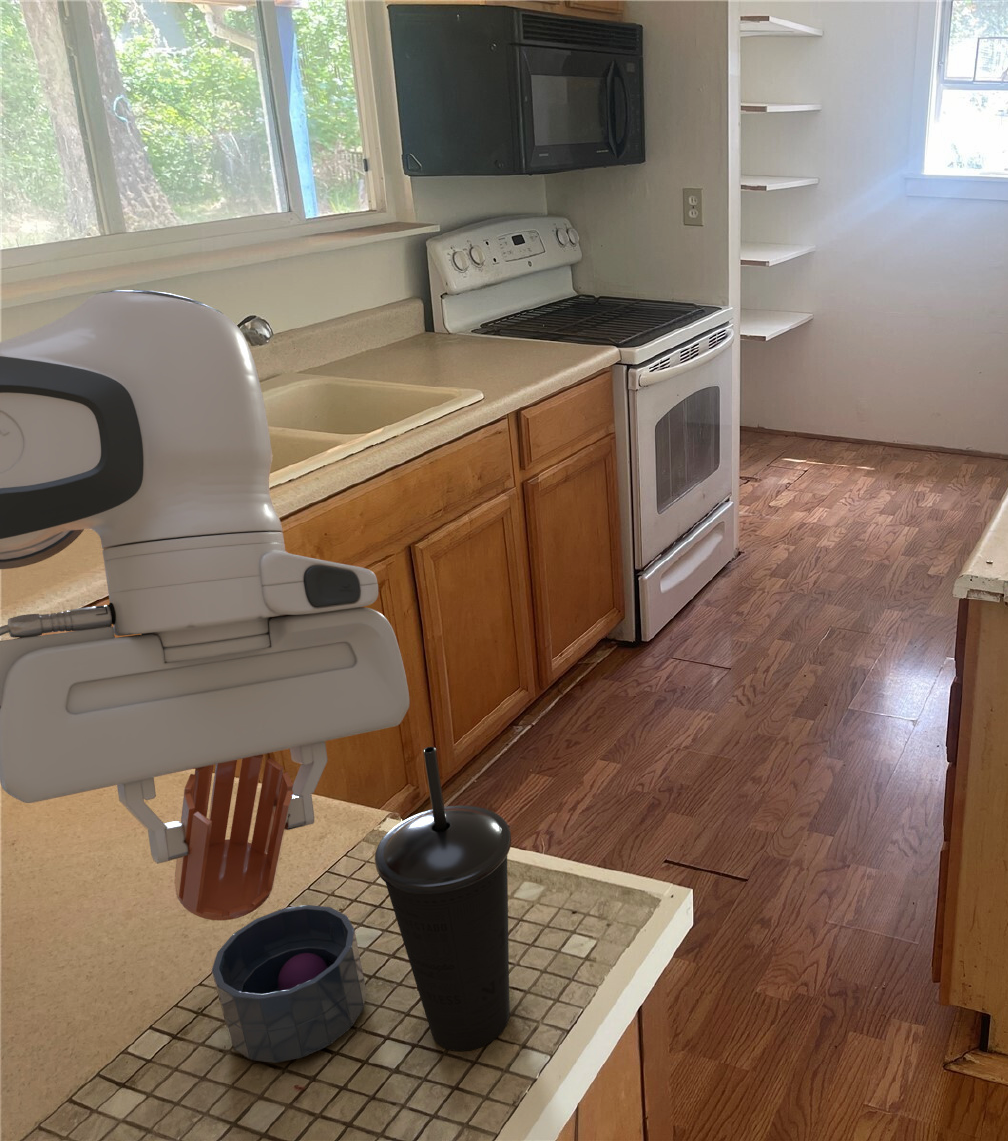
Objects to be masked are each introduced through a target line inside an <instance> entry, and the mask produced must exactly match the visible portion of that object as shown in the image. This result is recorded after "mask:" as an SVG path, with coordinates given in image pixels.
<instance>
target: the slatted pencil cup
mask: <svg viewBox="0 0 1008 1141" xmlns="http://www.w3.org/2000/svg"><path fill="white" fill-rule="evenodd" d="M263 760H264V754H262V755H257V756H252V757H248V758H243V759H241V763H240V771H239V777H238V783H237V784H238V785H237V790H236V796H235V802H234V809H233V815H232V821H231V828H230V835H229V839H226V836H227V830H228V822H229V817H230V811H231V804H232V796H233V790H234V783H235V777H236V770H237V764H238V763H237V762H238V760H233V761H229V762H224V763H219V764H215V768H214V765H210V766H205V767H200V768H195V769H194V773H191V774H190V775H189V777H188V779H187V781H186V784H185V786H184V792H183V800H182V808H181V817H180V823H182V824H183V825H184V830H185V837H186V838H185V840H184V842H185V843H186V844H187V845H188V856H185V857H181V858H178V859H176V862H175V871H174V889H175V890H174V891H175V894H176V898H177V899H178V901H179V903H180V904H181V905H182V907H183V908H184V909H185V910H187V911H188V912H189V913H191V914H193V915H194V916H197V917H198V918H202V919H205V920H210V921H229V920H230V921H231V920H235V919H239V918H242V917H245V916H247V915H249V914H251V913H252V912H254V911H256V910H257V909H259V908H260V907H261V906H262V905H264V903H265V902H266V901H267V900H268V898H269V897H270V896H271V893H272V891H273V889H274V886H275V882H276V879H277V874H278V871H279V865H280V860H281V855H282V848H283V844H284V840H285V836H286V831H287V830H286V826H287V821H288V816H289V811H290V806H291V801H292V796H293V791H292V789H293V784H294V783H293V782H292V779H291V777H290V774H289V772H288V771H286V772H284V767H285V766H283V765H282V764H280V763H278V762H277V761H276V760H275V759H273V758H272V757H269V758H267V759H266V760H265V764H264V769H263V770H264V771H263V774H262V782H261V785H260V786H261V787H260V793H259V798H258V805H257V810H256V816H255V820H254V827H253V833H252V838H251V842H249V841H250V834H251V829H252V823H253V818H254V811H255V805H256V800H257V793H258V787H259V781H260V776H261V770H262V766H263V765H262V764H263ZM213 772H214V775H213ZM212 780H213V783H212ZM211 788H212V790H211ZM211 791H212V792H211ZM210 796H211V798H210ZM209 801H210V806H209ZM208 809H209V810H208ZM208 812H209V813H208Z"/></svg>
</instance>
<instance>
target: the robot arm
mask: <svg viewBox="0 0 1008 1141" xmlns="http://www.w3.org/2000/svg"><path fill="white" fill-rule="evenodd" d="M261 386H262V385H261V382H260V378H259V375H258V370H257V366H256V363H255V360H254V357H253V354H252V351H251V347H250V346H249V344H248V341H247V339H246V337H245V335H244V333H243V332H242V330H241V329H240V327H239V326H238V325H237V324H236V323H235V322H234V321H233V320H232V319H231V318H230V317H228V316H227V315H225V314H224V313H223V312H221V310H219V309H216V308H213V307H211V306H209V305H208V304H207V305H206V304H205V303H203V302H201V301H199V300H195V299H192V298H190V297H189V298H188V297H186V296H182V295H177V294H173V293H168V292H161V291H156V290H155V291H154V290H145V289H144V290H143V289H132V290H118V289H117V290H115V289H114V290H109V291H102V292H98V293H94V294H93V295H90V296H89V297H87V298H86V299H85V300H83V302H82V303H80V304H79V305H78V306H77V307H76V308H74V309H73V310H72V311H69V312H68V313H67V314H65V315H63V316H61V317H59V318H58V319H55V320H53V321H51V322H49V323H47V324H44V325H43V326H40V327H38V328H35V329H33V330H31V331H28V332H25V333H23V334H20V335H18V336H14V337H11V338H8V339H4V340H2V341H0V570H9V569H11V570H12V569H18V568H22V567H23V568H24V567H27V566H31V565H34V564H37V563H40V562H42V561H45V560H48V559H50V558H52V557H54V556H55V555H57V554H59V553H60V552H62V551H63V550H65V549H66V548H68V547H69V546H70V545H71V544H72V543H74V542H75V541H76V540H77V539H78V538H79V537H80V536H81V535H82V533H83V532H84V531H85V530H91V531H93V532H95V533H96V534H97V535H98V536H99V539H100V544H101V549H102V558H103V566H104V572H105V580H106V586H107V594H108V601H109V603H108V604H104V605H95V606H86V607H79V608H73V609H69V610H64V611H57V612H52V613H43V614H39V613H28V614H21V615H16V616H13V617H10V618H8V619H7V624H4V625H1V626H0V637H2V636H4V635H6V634H9V637H10V638H11V639H4V640H2V639H1V640H0V786H1V788H2V790H3V791H4V792H5V793H7V795H9V796H10V797H12V798H15V799H16V800H18V801H20V802H22V803H24V804H32V803H39V802H43V801H49V800H52V799H53V800H54V799H57V798H62V797H67V796H72V795H77V794H81V793H87V792H90V791H96V790H100V789H104V788H110V787H114V786H116V788H117V794H118V801H119V803H121V805H122V806H124V807H125V809H126V810H127V811H128V812H129V813H130V814H131V815H132V816H133V817H134V818H135V819H136V820H137V821H138V822H139V824H141V826H142V827H143V828H144V829H146V830H147V834H148V842H149V848H150V849H149V850H150V854H151V858H152V860H153V862H154V863H156V864H157V865H159V864H163V863H167V862H170V861H174V860H177V859H178V858H181V857H185V856H188V845H187V844H186V843H185V842H184V840H185V838H186V837H185V830H184V825H183V824H182V823H181V821H179V820H173V821H168V822H164V821H162V819H161V818H160V817H159V816H158V815H157V814H156V813H155V811H153V810H152V809H151V808H150V806H148V804H147V803H146V802H145V801H151V800H154V799H155V798H156V797H157V794H156V786H155V778H156V777H162V776H167V775H171V774H177V773H181V772H186V771H190V770H195V769H196V768H200V767H205V766H210V765H213V766H214V765H216V764H219V763H224V762H229V761H233V760H237V761H238V760H242V759H243V758H248V757H252V756H257V755H267V754H270V753H275V752H280V751H286V750H289V752H290V758H291V761H292V762H293V763H296V764H300V766H299V768H298V771H297V774H296V776H295V779H294V781H293V783H292V784H293V789H292V791H293V796H292V801H291V806H290V811H289V816H288V821H287V826H286V831H291V830H293V829H298V828H302V827H306V826H309V825H314V823H315V812H314V802H313V796H312V795H313V794H314V793H315V791H316V789H317V786H318V784H319V782H320V779H321V777H322V775H323V772H324V770H325V767H326V765H327V764H328V753H327V744H326V742H328V741H332V740H337V739H341V738H346V737H347V738H348V737H352V736H357V735H360V734H366V733H371V732H376V731H379V730H385V729H389V728H393V727H397V726H399V725H400V724H401V723H402V722H403V720H404V718H405V716H406V715H407V713H408V710H409V708H410V693H409V686H408V680H407V675H406V671H405V666H404V661H403V657H402V654H401V650H400V646H399V643H398V639H397V636H396V633H395V631H394V628H393V626H392V624H391V623H390V622H389V620H388V619H387V617H386V616H385V615H383V614H382V613H381V612H380V611H378V610H376V609H373V608H371V607H368V606H370V605H372V604H374V603H375V602H376V601H377V599H378V596H379V584H378V579H377V575H376V574H375V572H373V571H372V570H371V569H368V568H365V567H361V566H357V565H351V564H345V563H339V562H336V561H335V562H334V561H330V560H324V559H319V558H313V557H308V556H303V555H298V554H293V553H290V552H288V551H287V550H286V544H285V537H284V533H283V532H284V529H283V526H282V522H281V519H280V517H279V515H278V513H277V512H276V509H275V506H274V504H273V500H272V497H271V491H270V490H271V489H270V476H271V468H272V464H273V450H272V443H271V435H270V427H269V423H268V415H267V410H266V406H265V401H264V395H263V391H262V387H261ZM43 634H44V635H43ZM115 636H117V637H115ZM144 800H145V801H144Z"/></svg>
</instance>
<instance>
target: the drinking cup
mask: <svg viewBox="0 0 1008 1141" xmlns="http://www.w3.org/2000/svg"><path fill="white" fill-rule="evenodd" d="M422 754H423V760H424V766H425V773H426V779H427V786H428V790H429V792H428V793H429V798H430V804H431V805H430V806H431V809H428V810H425V811H422V812H419V813H417V814H413V815H412V816H410V817H408V818H406V819H404V820H403V821H401V822H399V823H398V824H396V825H395V826H393V827H392V828H391V829H390V830H389V831H387V833H386V834H385V835H384V836H383V837H382V839H380V841H379V843H378V845H377V846H376V850H375V853H374V865H375V869H376V873H377V875H378V876H379V877H380V879H381V880H382V881H383V882H384V883H385V887H386V889H387V893H388V896H389V899H390V903H391V906H392V909H393V913H394V915H395V918H396V922H397V925H398V930H399V932H400V934H401V938H402V942H403V945H404V949H405V951H406V955H407V958H408V961H409V965H410V968H411V971H412V974H413V975H412V976H413V978H414V981H415V985H416V988H417V991H418V994H419V998H420V1001H421V1004H422V1007H423V1011H424V1014H425V1017H426V1021H427V1024H428V1027H429V1031H430V1034H431V1037H432V1038H433V1040H434V1042H436V1044H437V1045H438V1046H440V1047H442V1048H444V1049H446V1050H448V1051H452V1052H453V1051H454V1052H468V1051H472V1050H476V1049H480V1048H482V1047H485V1046H486V1045H489V1044H490V1043H492V1042H493V1041H495V1040H496V1039H497V1038H498V1037H500V1035H501V1034H502V1033H503V1031H504V1030H505V1029H506V1027H507V1025H508V1023H509V1020H510V961H509V960H510V956H509V955H510V953H509V951H510V950H509V887H508V886H509V883H508V882H509V881H508V854H509V853H510V850H511V846H512V832H511V829H510V826H509V824H508V823H507V822H506V820H505V819H504V818H503V816H500V814H498V813H497V812H494V811H492V810H490V809H487V808H484V807H481V806H480V807H479V806H475V805H460V804H459V805H447V806H445V802H444V796H443V789H442V781H441V776H440V769H439V768H440V767H439V761H438V756H437V749H436V747H434V746H427V747H425V748H424V749H423V751H422Z"/></svg>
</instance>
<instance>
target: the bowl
mask: <svg viewBox="0 0 1008 1141" xmlns="http://www.w3.org/2000/svg"><path fill="white" fill-rule="evenodd" d="M359 951H360V950H359V946H358V942H357V936H356V930H355V928H354V926H353V924H352V922H351V921H350V919H349V917H348V916H347V915H346V914H345V913H343V912H341V911H338V910H336V909H334V908H333V907H331V906H322V905H315V904H314V905H313V904H312V905H311V904H305V905H298V906H291V907H286V908H285V907H284V908H280V909H278V910H275V911H273V912H270V913H267V914H264V915H262V916H260V917H257V918H255V919H253V920H252V921H250V922H249V923H247V924H245V925H244V926H243V927H242V928H239V929H238V930H237V931H235V932H234V933H233V934H231V935H230V937H229V938H228V939H226V941H225V942H224V944H222V946H221V947H220V948H219V949H218V950H217V952H216V955H215V958H214V962H213V964H212V968H211V974H212V977H213V981H214V982H213V983H214V985H215V989H216V993H217V997H218V1000H219V1004H220V1007H221V1012H222V1016H223V1019H224V1024H225V1027H226V1030H227V1034H228V1036H229V1037H228V1038H229V1039H230V1041H231V1045H232V1048H233V1049H234V1051H236V1052H237V1053H239V1054H240V1055H242V1056H244V1057H245V1058H247V1059H248V1060H249V1061H250V1060H251V1061H256V1062H257V1061H258V1062H264V1063H265V1062H266V1063H273V1064H274V1063H282V1062H288V1061H292V1060H297V1059H303V1058H305V1057H307V1056H309V1055H311V1054H314V1053H316V1052H318V1051H320V1050H322V1049H324V1048H326V1047H328V1046H330V1045H332V1044H333V1043H334V1042H336V1041H338V1039H339V1038H340V1037H342V1036H343V1035H344V1034H345V1033H346V1032H348V1031H349V1030H350V1029H352V1028H353V1026H354V1024H355V1023H356V1021H357V1019H358V1018H359V1017H360V1014H361V1013H362V1011H363V1010H364V1008H365V1005H366V1004H365V1003H366V996H367V995H366V994H367V986H366V982H365V977H364V971H363V966H362V962H361V955H360V952H359ZM302 953H312V954H315V955H318V956H319V957H321V958H322V959H323V960H324V961H325V963H326V964H327V967H328V968H327V969H326V970H324V971H323V972H322V973H320V974H319V975H318V976H316V977H315V978H314V979H312V980H309V981H307V982H305V983H302V984H300V985H298V986H295V987H293V988H291V989H289V990H283V991H280V990H279V987H278V976H279V973H280V970H281V969H282V967H283V965H284V964H285V963H286V962H287V961H288V960H289V959H291V958H292V957H294V956H296V955H298V954H302Z"/></svg>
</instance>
